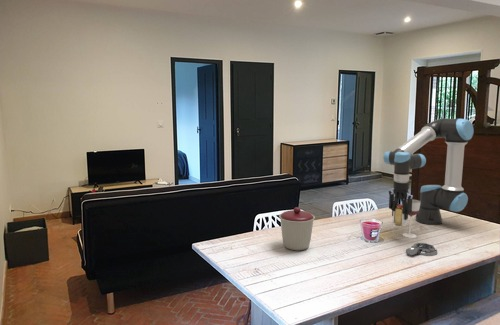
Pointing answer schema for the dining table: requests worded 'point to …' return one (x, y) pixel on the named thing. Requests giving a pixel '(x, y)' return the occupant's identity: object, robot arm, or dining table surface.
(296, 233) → the canister
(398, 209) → the yellow glass cylinder
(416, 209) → the wineglass
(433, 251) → the grey flat curved piece
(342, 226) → the dining table surface
